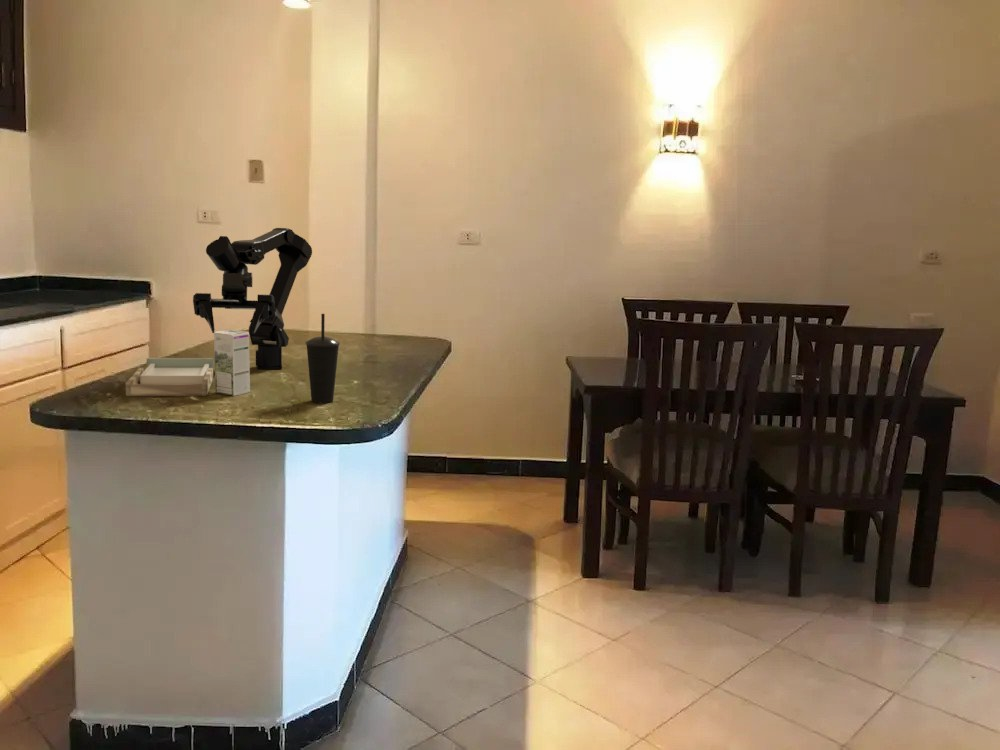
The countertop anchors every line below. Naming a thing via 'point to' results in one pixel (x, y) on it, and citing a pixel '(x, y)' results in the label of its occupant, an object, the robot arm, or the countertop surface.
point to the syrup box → (232, 362)
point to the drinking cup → (322, 366)
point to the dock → (167, 387)
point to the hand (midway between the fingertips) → (233, 332)
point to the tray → (176, 370)
